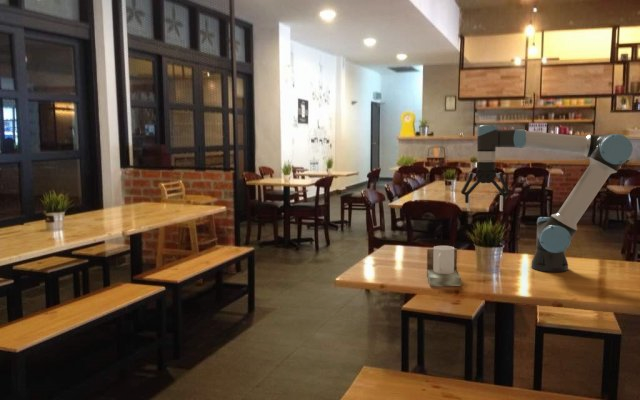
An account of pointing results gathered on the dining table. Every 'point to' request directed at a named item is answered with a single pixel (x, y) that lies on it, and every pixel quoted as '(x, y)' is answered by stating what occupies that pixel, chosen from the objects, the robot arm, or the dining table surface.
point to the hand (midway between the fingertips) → (484, 210)
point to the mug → (443, 259)
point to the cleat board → (442, 279)
